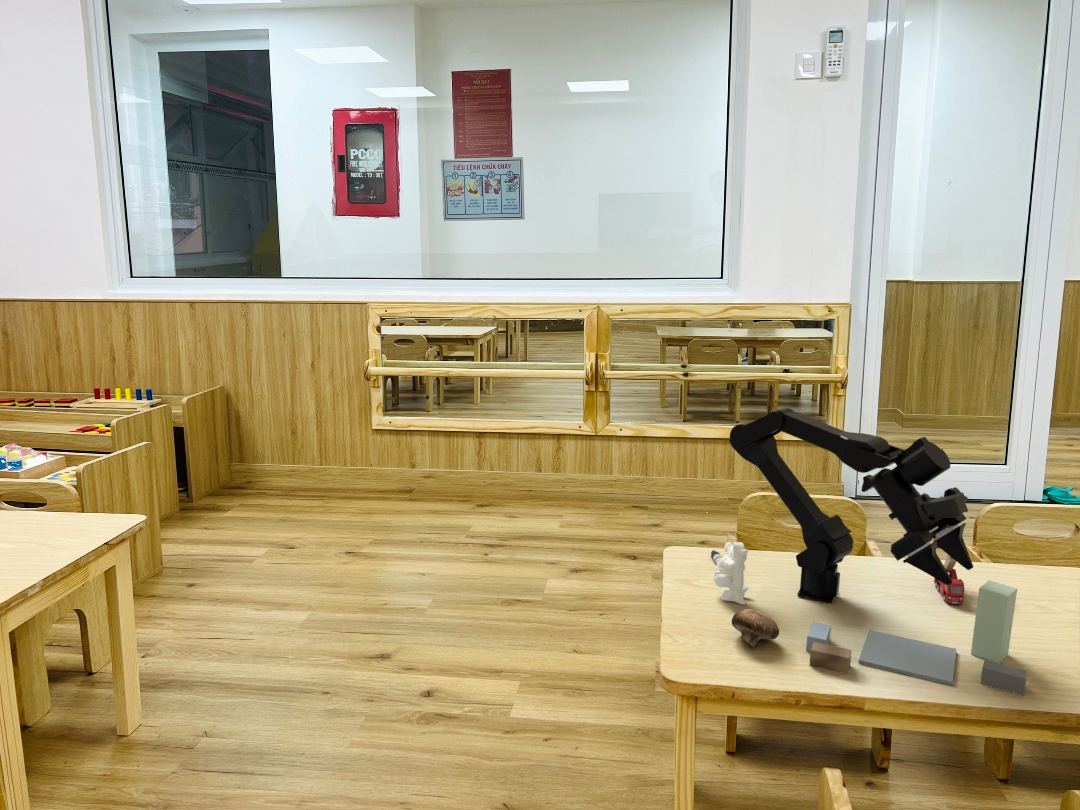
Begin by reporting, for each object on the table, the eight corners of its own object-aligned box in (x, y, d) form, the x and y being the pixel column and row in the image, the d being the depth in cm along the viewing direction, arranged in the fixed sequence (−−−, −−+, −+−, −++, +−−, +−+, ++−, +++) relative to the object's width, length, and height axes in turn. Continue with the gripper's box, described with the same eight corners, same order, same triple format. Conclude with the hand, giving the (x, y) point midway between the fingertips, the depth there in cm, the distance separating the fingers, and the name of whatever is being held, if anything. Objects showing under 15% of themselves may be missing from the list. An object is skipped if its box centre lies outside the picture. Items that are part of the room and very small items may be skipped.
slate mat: (858, 663, 140) (858, 659, 140) (868, 632, 150) (868, 629, 150) (952, 685, 134) (952, 681, 134) (956, 652, 144) (956, 648, 144)
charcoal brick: (980, 684, 134) (982, 667, 134) (982, 676, 137) (984, 659, 136) (1023, 696, 131) (1025, 678, 130) (1025, 687, 134) (1027, 670, 133)
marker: (738, 585, 170) (738, 575, 170) (728, 585, 170) (728, 576, 170) (716, 555, 185) (716, 546, 185) (707, 555, 185) (708, 546, 185)
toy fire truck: (945, 605, 162) (951, 557, 159) (928, 576, 175) (933, 532, 173) (964, 607, 161) (970, 559, 159) (946, 577, 174) (951, 533, 172)
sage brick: (970, 653, 144) (979, 587, 141) (980, 645, 146) (989, 580, 144) (998, 663, 140) (1008, 596, 138) (1008, 654, 143) (1017, 588, 141)
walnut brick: (809, 666, 139) (810, 649, 139) (812, 658, 142) (813, 641, 141) (847, 675, 137) (849, 658, 136) (850, 666, 139) (851, 649, 139)
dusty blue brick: (824, 656, 143) (825, 640, 142) (805, 652, 144) (807, 635, 143) (829, 640, 148) (831, 624, 147) (811, 636, 149) (813, 621, 149)
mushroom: (746, 641, 140) (755, 604, 143) (717, 638, 147) (725, 603, 150) (783, 657, 143) (791, 620, 145) (752, 653, 150) (760, 619, 152)
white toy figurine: (757, 607, 160) (761, 547, 157) (722, 608, 159) (726, 548, 157) (741, 588, 168) (745, 530, 166) (708, 589, 167) (712, 532, 165)
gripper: (916, 486, 139) (979, 569, 133) (960, 464, 152) (1020, 540, 146) (865, 520, 146) (924, 600, 141) (911, 496, 159) (966, 569, 153)
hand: (960, 576), depth 145 cm, fingers open, 9 cm apart
